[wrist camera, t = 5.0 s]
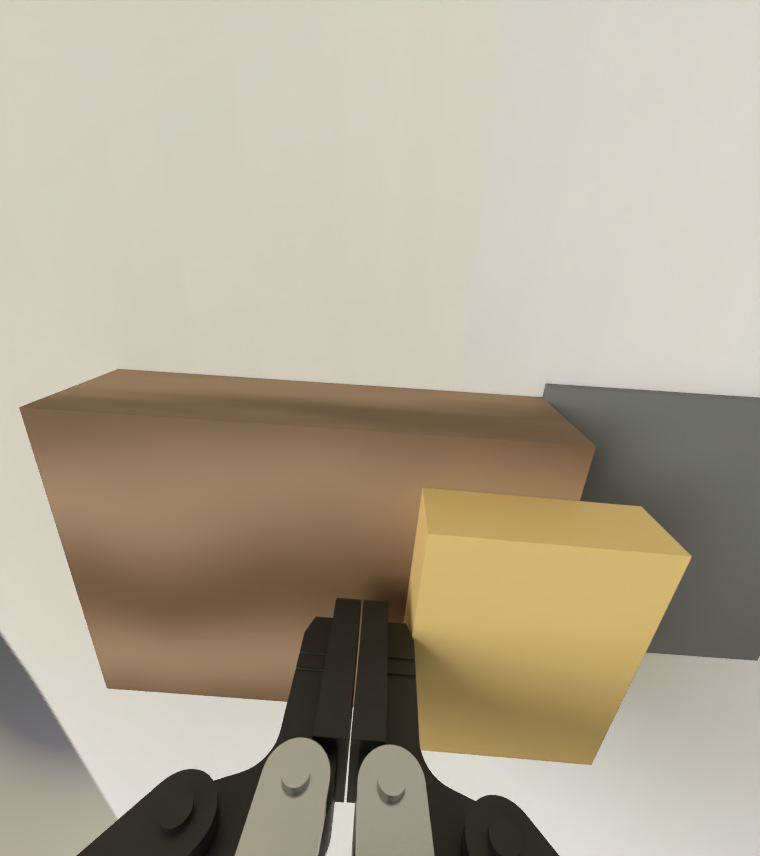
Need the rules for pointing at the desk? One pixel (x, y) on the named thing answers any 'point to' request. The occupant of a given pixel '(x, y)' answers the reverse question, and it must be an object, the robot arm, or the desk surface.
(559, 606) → the tile
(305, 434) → the brown wooden block
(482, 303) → the desk surface
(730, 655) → the mat
